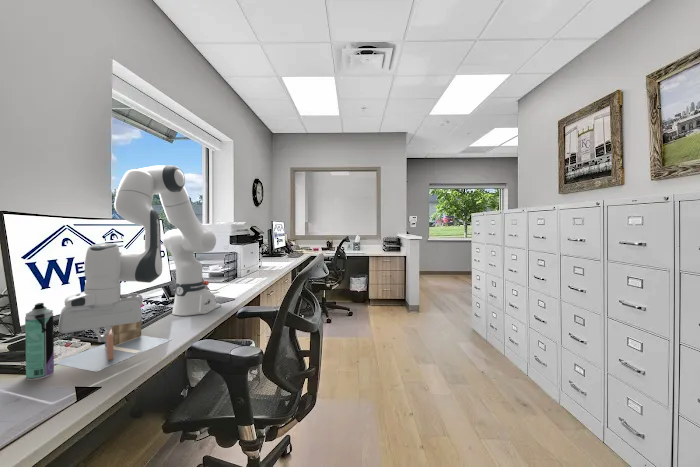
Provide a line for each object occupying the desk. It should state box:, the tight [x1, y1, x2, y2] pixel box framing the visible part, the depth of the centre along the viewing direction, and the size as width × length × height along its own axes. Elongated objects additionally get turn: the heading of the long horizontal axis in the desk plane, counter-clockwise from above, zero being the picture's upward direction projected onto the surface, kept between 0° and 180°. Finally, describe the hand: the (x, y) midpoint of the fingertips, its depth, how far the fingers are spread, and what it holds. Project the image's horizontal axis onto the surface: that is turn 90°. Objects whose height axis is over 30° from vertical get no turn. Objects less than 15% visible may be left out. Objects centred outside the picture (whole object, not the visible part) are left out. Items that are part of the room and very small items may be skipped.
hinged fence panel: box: [104, 326, 113, 360], centre depth 103 cm, size 14×2×7 cm, turn 39°
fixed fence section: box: [112, 319, 142, 346], centre depth 113 cm, size 10×2×8 cm, turn 163°
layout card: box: [54, 334, 172, 373], centre depth 105 cm, size 26×18×1 cm
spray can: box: [24, 302, 55, 381], centre depth 87 cm, size 6×6×20 cm
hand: (102, 341), depth 99 cm, fingers closed
